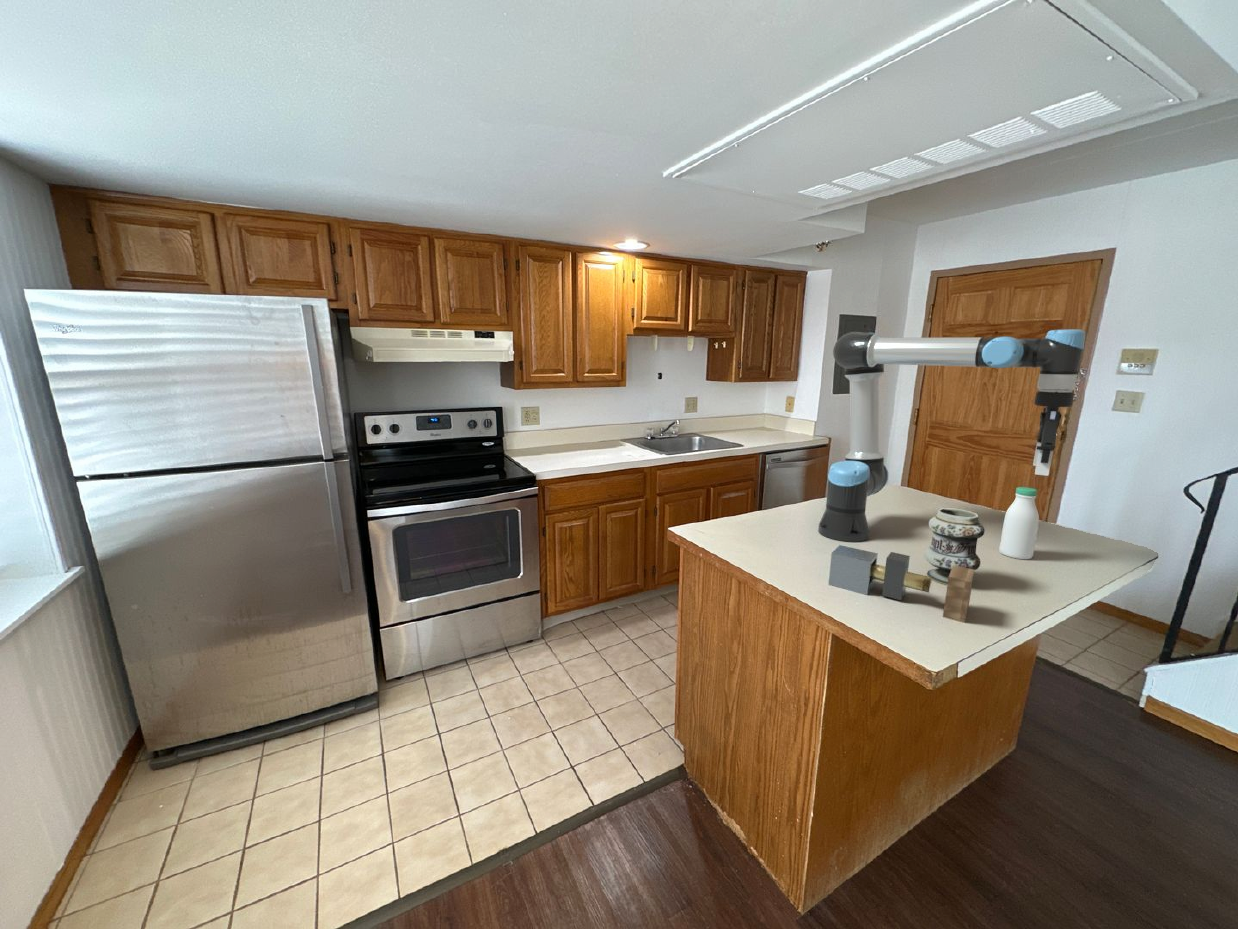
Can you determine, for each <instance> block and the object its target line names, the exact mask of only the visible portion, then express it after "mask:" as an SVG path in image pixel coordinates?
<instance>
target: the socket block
mask: <svg viewBox="0 0 1238 929" xmlns="http://www.w3.org/2000/svg"><path fill="white" fill-rule="evenodd" d="M974 574H975V570H974V569H969V568H964V567H960V566H955V565H953V567H952V569H951V572H950V575H949V578H948V585H946V593H945V599H944V607H943V612H942V617H943V618H946V619H951V620H954V621H958V622H960V623H966V621H967V620H966V618H967V615H968V611H969V607H970V606H969V605H970V600H971V593H972V588H973V581H974Z"/></svg>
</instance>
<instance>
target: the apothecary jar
mask: <svg viewBox="0 0 1238 929" xmlns="http://www.w3.org/2000/svg"><path fill="white" fill-rule="evenodd" d="M928 526H929V529H930V530H931V531H932V538H931V544H930V546H927V548H926V549H925V550H924V552H923V555H924V558H925V560H926V561H927V562H928V563H929V564H930V565H932V567H935V568H933V569H929V570H928V571H927V572H926V576H928V577H932V581H934V582H937V583H938V584H943V585H946V586H947V585H948V578H949V575H950V572H951V569H952V567H953V565H955V566H960V567H964V568H969V569H974V571H975V570H977V569H979V567H980V566H981V559H980V557H979V555H978V554H977V545H978V544H977V543H978V539H979V538H982V537H983V536H984V535H985V531H986V530H985V527H984V525H983V524H982V523H981V522H980V519H979V515H978V514H977V513H975V512H973V511H970V510H967V509H962V508H954V507H953V508H951V507H950V508H949V507H941V508H939V509H938V511H937V513H936V515H935V516H933V517H931V518H930V519H929V521H928Z"/></svg>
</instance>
